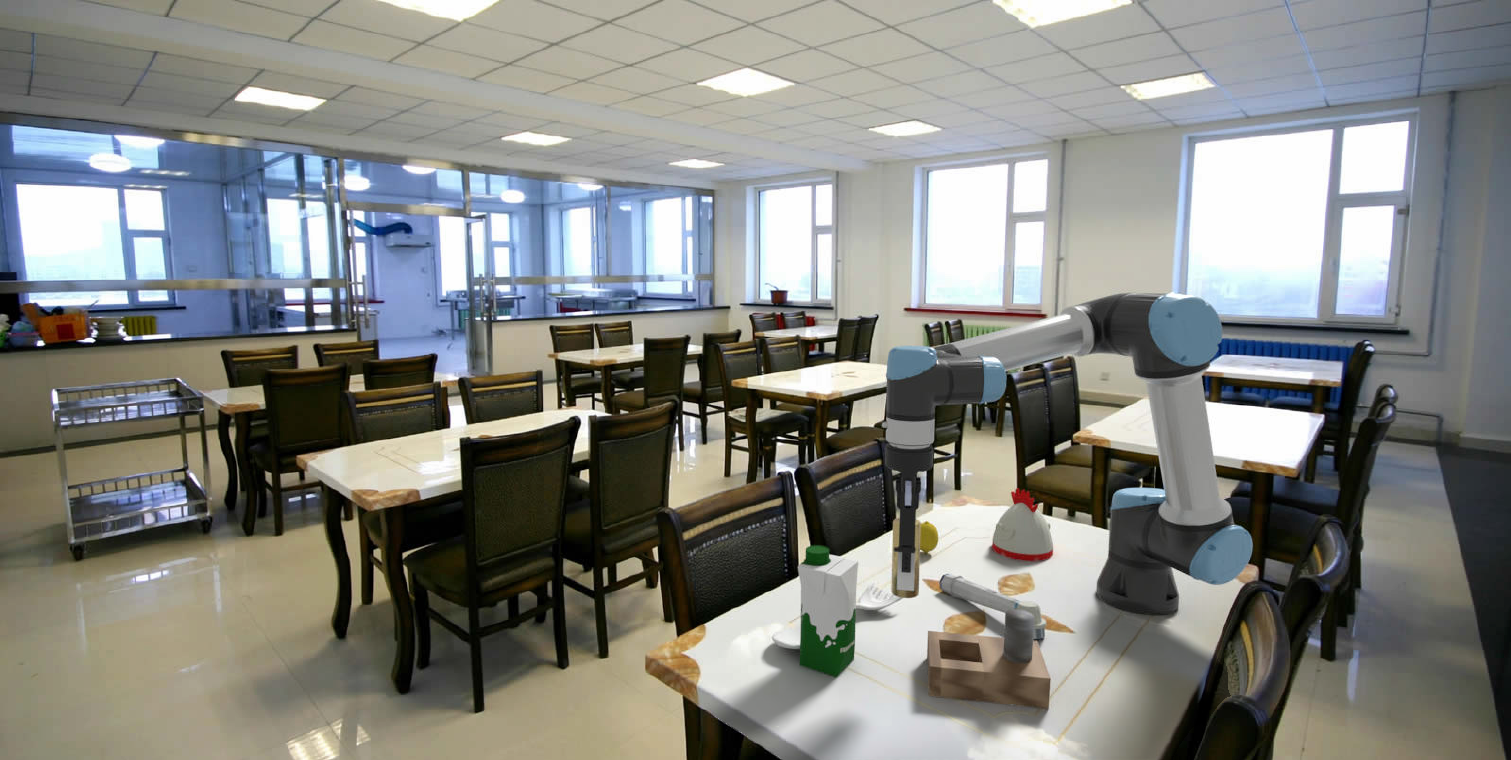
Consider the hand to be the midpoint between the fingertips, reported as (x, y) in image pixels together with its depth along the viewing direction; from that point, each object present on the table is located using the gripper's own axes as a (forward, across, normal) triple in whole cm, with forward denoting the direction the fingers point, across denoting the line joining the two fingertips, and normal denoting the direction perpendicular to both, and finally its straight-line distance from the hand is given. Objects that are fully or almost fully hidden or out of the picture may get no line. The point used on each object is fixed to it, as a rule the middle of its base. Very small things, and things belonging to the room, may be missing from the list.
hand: (905, 582), depth 121 cm
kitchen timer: (+17, -64, +28) cm, 72 cm away
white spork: (+16, -15, -12) cm, 25 cm away
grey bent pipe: (+17, -27, +17) cm, 36 cm away
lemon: (+17, -57, +5) cm, 59 cm away
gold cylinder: (+2, 0, 0) cm, 2 cm away
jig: (+16, -1, +13) cm, 21 cm away
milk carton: (+17, -2, -13) cm, 21 cm away
